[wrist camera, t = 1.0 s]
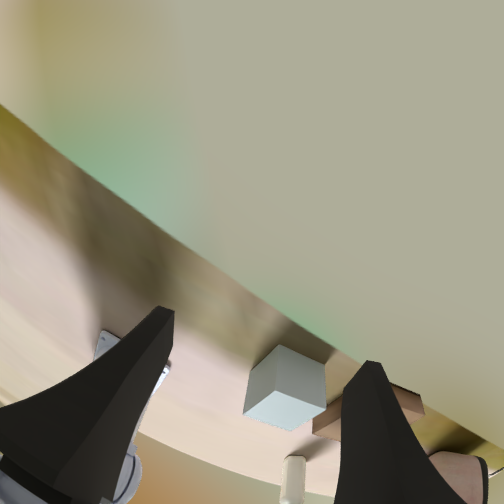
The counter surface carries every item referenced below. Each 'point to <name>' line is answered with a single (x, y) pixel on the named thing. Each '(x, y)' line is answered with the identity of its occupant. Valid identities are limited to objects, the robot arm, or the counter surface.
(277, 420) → the grey cube
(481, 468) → the packaged food
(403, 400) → the walnut block
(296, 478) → the eye dropper bottle
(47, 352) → the counter surface
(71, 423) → the robot arm
